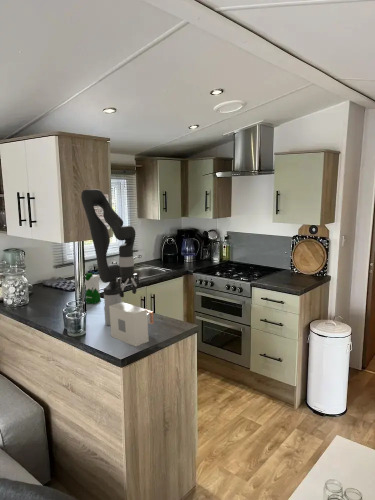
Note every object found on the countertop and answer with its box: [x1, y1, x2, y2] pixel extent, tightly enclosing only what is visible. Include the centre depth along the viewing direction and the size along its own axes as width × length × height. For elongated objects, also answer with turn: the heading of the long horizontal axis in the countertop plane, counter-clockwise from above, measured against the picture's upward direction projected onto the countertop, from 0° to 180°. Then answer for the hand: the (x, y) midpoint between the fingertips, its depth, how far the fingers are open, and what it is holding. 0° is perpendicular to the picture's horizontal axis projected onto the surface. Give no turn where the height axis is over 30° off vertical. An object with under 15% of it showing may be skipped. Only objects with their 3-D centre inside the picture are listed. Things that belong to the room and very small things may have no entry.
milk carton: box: [84, 272, 101, 305], centre depth 253 cm, size 9×9×20 cm
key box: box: [109, 301, 150, 347], centre depth 188 cm, size 20×8×16 cm, turn 45°
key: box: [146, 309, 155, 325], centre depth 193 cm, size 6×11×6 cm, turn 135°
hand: (128, 295), depth 199 cm, fingers open, 8 cm apart
